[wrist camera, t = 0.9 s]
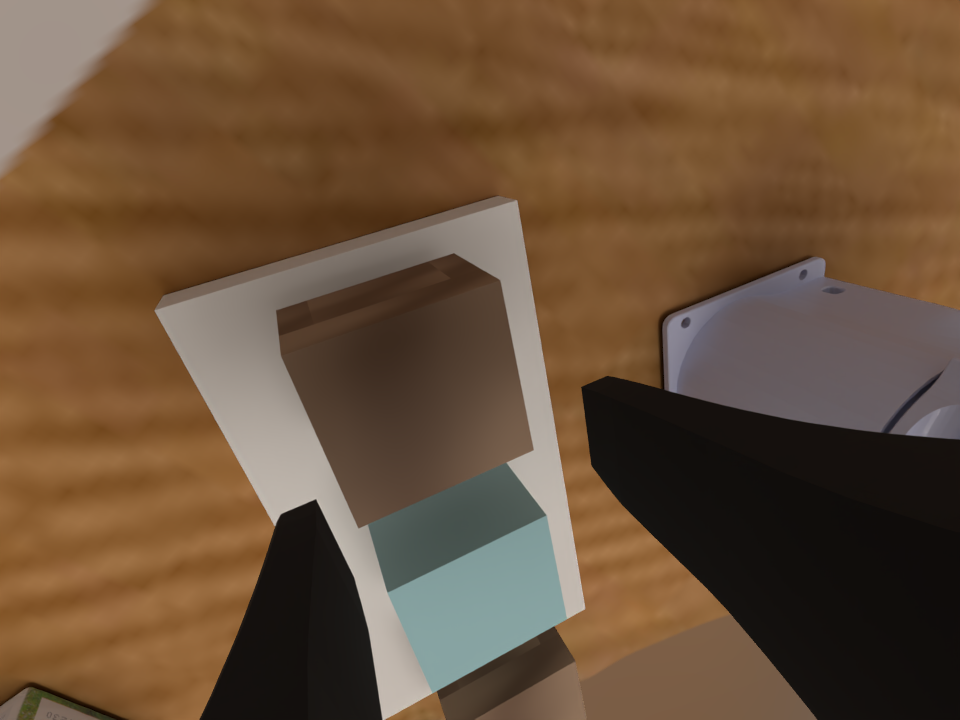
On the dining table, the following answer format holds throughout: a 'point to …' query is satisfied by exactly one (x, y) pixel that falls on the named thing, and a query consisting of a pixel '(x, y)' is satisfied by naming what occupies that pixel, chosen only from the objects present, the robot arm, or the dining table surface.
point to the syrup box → (45, 708)
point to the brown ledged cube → (408, 382)
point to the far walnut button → (519, 685)
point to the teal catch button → (470, 573)
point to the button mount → (286, 426)
